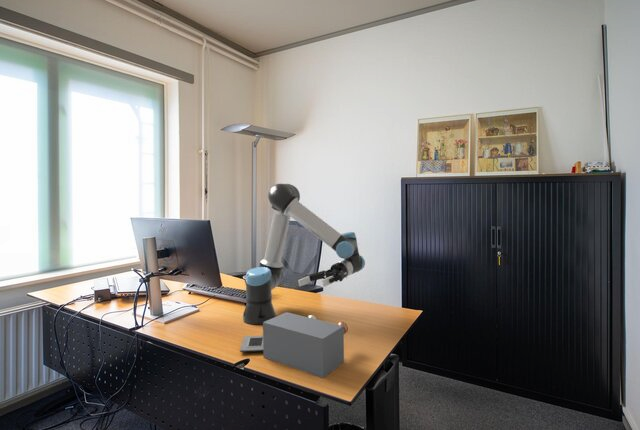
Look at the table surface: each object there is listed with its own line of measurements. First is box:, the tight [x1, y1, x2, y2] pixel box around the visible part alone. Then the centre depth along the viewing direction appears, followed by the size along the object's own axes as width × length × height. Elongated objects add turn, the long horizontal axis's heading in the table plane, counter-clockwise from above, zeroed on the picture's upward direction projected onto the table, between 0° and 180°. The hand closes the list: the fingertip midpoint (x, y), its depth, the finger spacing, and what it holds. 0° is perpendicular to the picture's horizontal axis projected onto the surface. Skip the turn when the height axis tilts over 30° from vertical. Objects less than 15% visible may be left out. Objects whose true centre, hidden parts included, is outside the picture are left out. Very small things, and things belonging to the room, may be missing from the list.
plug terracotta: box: [336, 321, 349, 335], centre depth 131 cm, size 12×4×4 cm, turn 145°
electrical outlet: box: [239, 334, 264, 353], centre depth 139 cm, size 13×10×2 cm
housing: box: [262, 311, 345, 379], centre depth 127 cm, size 13×26×13 cm, turn 55°
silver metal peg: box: [307, 314, 318, 320], centre depth 139 cm, size 12×4×4 cm, turn 145°
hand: (310, 283), depth 148 cm, fingers open, 13 cm apart
